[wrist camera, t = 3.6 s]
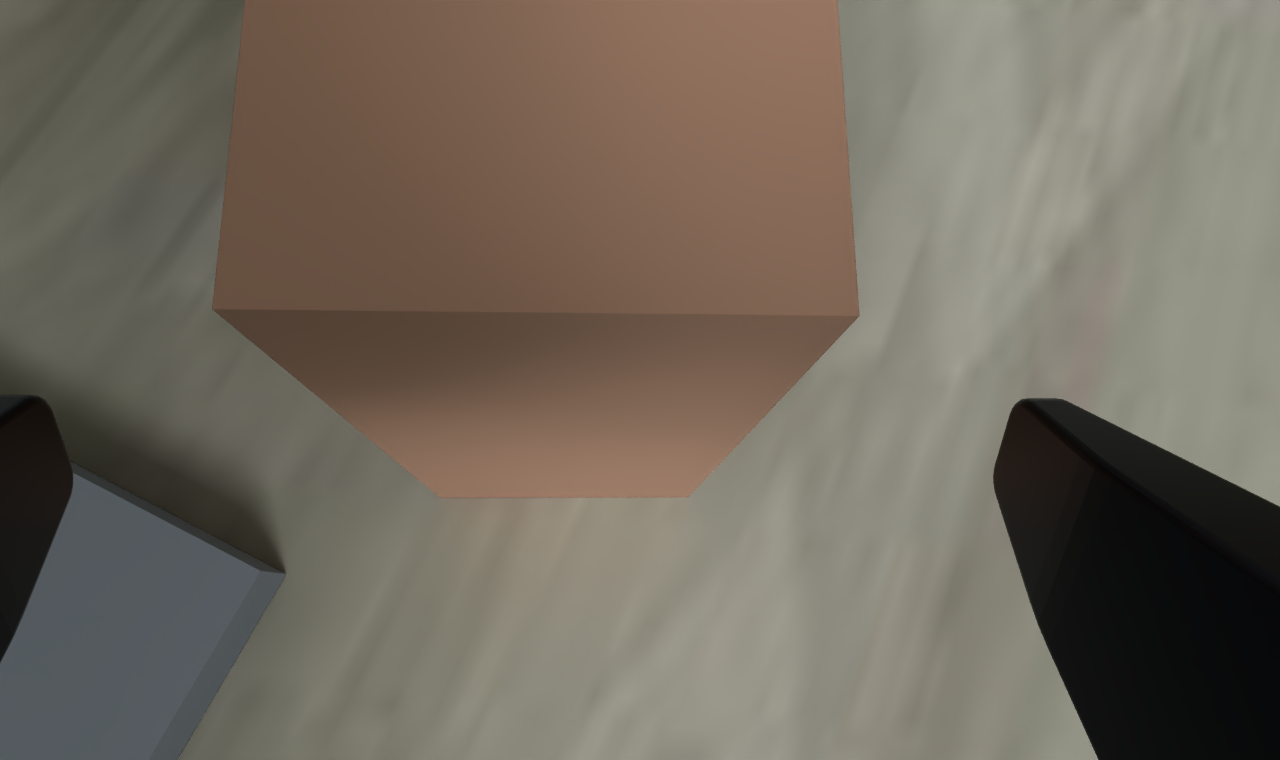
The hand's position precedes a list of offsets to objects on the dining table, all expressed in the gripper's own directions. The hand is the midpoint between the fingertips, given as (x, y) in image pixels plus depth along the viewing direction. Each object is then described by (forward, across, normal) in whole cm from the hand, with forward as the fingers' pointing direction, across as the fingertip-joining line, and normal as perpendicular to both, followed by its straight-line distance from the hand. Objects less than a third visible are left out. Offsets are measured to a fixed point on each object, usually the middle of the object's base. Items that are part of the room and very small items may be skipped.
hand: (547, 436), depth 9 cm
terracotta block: (+9, 0, +5) cm, 11 cm away
